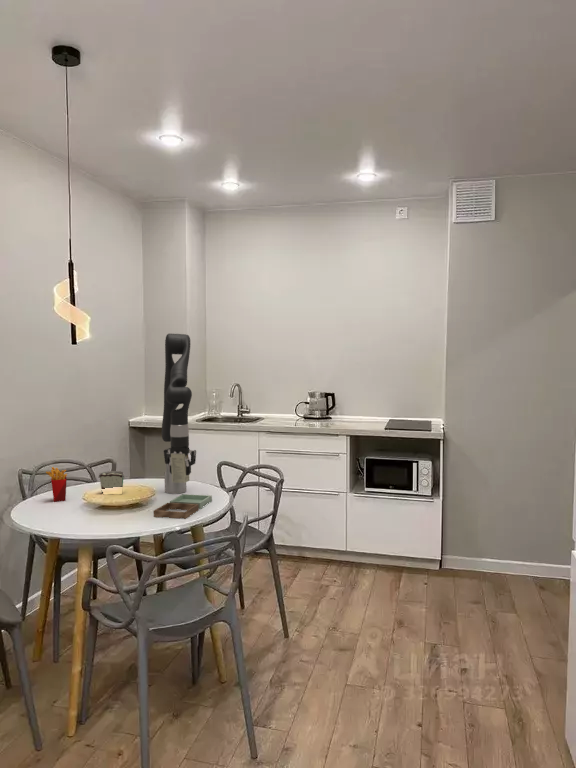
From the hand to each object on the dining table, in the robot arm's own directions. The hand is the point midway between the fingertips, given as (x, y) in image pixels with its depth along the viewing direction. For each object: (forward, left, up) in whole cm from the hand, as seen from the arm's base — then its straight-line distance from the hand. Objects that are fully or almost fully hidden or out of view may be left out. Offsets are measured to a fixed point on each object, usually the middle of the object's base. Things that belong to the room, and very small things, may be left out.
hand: (180, 474), depth 251 cm
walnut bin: (+1, -6, -15) cm, 16 cm away
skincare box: (0, 0, -3) cm, 3 cm away
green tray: (+1, +9, -15) cm, 17 cm away
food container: (-43, +21, -15) cm, 50 cm away
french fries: (-61, +3, -15) cm, 63 cm away
